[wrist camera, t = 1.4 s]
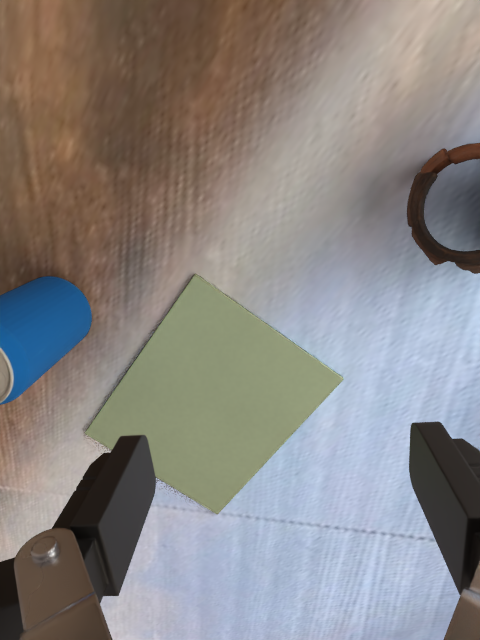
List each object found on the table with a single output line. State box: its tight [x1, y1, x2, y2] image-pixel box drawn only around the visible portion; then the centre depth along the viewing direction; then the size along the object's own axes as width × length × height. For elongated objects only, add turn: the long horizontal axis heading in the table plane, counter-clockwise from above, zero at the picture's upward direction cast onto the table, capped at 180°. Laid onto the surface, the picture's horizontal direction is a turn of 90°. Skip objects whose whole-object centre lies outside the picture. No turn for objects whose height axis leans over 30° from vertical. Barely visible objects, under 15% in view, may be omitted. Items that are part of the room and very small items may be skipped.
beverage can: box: [0, 276, 92, 405], centre depth 32 cm, size 6×6×12 cm
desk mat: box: [85, 274, 343, 514], centre depth 39 cm, size 16×20×1 cm
